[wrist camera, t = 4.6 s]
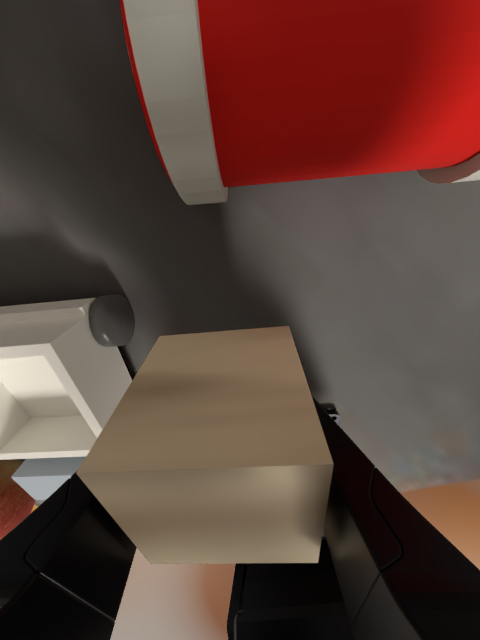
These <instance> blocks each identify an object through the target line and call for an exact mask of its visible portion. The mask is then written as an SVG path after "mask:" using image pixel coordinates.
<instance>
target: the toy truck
mask: <svg viewBox="0 0 480 640" xmlns="http://www.w3.org/2000/svg"><path fill="white" fill-rule="evenodd" d="M134 325H135V321H134V314H133V310H132V308H131V305H130V303H129V302H128V301H127V299H126V298H125V297H123V296H122V295H119V294H115V295H104V296H99V297H97V298H88V299H77V300H66V301H55V302H45V303H34V304H23V305H12V306H2V307H0V460H9V459H26V460H25V461H24V462H23V463H22V464H21V466H20V467H19V468H18V469H17V470H16V472H15V473H14V474H13V475H12V476H11V478H12V479H13V480H14V481H15V482H16V483H18V484H19V485H20V486H21V487H22V488H23V489H24V490H25V491H26V492H27V493H28V494H29V495H30V496H31V497H33V498H34V499H35V500H46V499H47V498H48V497H49V496H50V495H52V494H53V493H54V492H55V491H56V490H57V489H58V488H59V487H60V486H61V485H62V484H63V483H64V482H65V481H66V480H67V479H69V478H71V476H72V475H73V474H74V473H75V472H76V471H77V470H78V469H79V468H80V466H81V464H82V463H83V461H84V459H85V458H86V456H87V454H88V453H89V451H90V450H91V448H92V446H93V445H94V443H95V441H96V440H97V438H98V436H99V435H100V433H101V431H102V430H103V428H104V427H105V425H106V423H107V422H108V420H109V418H110V417H111V415H112V413H113V412H114V410H115V408H116V407H117V405H118V404H119V402H120V400H121V399H122V397H123V395H124V394H125V392H126V390H127V389H128V387H129V385H130V384H131V382H132V379H131V377H130V374H129V372H128V370H127V368H126V365H125V363H124V361H123V359H122V356H121V354H120V352H119V350H118V347H117V346H124V345H126V344H127V343H128V342H129V341H130V340H131V338H132V336H133V332H134Z"/></svg>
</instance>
